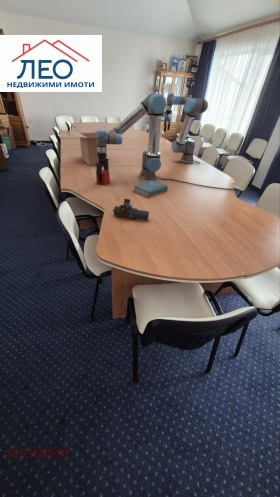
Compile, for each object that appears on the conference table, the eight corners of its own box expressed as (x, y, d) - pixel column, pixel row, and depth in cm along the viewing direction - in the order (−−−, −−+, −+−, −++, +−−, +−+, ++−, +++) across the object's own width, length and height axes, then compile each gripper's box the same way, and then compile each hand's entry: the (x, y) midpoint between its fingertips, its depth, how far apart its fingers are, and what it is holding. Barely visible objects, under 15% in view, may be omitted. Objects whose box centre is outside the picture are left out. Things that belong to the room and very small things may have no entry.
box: (116, 165, 229) (116, 136, 213) (83, 168, 214) (80, 137, 198) (102, 154, 259) (101, 128, 243) (71, 156, 244) (68, 129, 228)
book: (152, 185, 190) (153, 179, 187) (167, 191, 181) (167, 185, 178) (133, 191, 176) (133, 185, 173) (147, 198, 167) (148, 191, 164)
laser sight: (146, 223, 136) (147, 209, 130) (111, 218, 139) (111, 203, 133) (149, 216, 144) (150, 202, 138) (115, 211, 147) (115, 197, 141)
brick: (101, 180, 191) (100, 169, 186) (109, 182, 189) (109, 171, 183) (96, 183, 186) (95, 171, 180) (104, 185, 183) (104, 173, 178)
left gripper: (105, 149, 181) (105, 176, 195) (90, 153, 167) (92, 183, 180) (112, 150, 179) (113, 178, 193) (98, 155, 164) (99, 185, 178)
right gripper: (169, 108, 260) (166, 129, 273) (162, 110, 242) (160, 131, 254) (175, 109, 258) (172, 129, 271) (168, 110, 240) (166, 132, 252)
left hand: (103, 180), depth 186 cm, fingers closed on brick, 7 cm apart
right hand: (166, 130), depth 263 cm, fingers open, 13 cm apart
